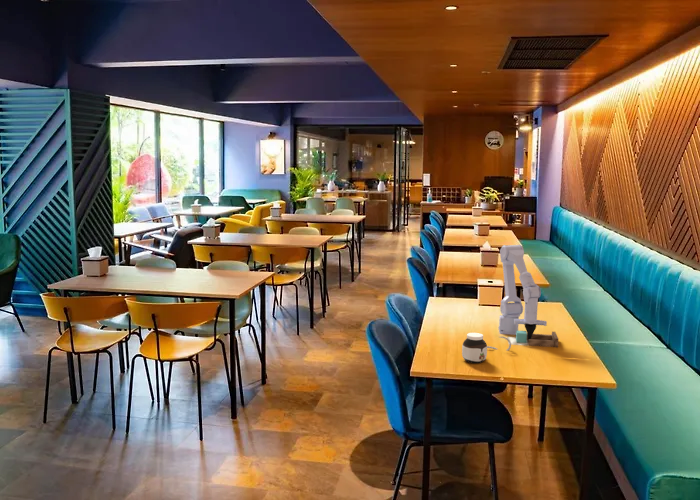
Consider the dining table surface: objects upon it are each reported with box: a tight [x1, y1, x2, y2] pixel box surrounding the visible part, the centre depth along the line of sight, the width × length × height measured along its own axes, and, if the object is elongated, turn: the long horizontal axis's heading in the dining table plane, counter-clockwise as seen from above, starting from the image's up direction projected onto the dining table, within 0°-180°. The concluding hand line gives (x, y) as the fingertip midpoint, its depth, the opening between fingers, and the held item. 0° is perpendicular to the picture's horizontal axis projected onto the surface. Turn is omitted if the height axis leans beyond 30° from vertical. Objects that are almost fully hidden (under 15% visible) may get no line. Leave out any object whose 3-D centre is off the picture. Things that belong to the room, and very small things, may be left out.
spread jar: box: [461, 332, 488, 364], centre depth 269 cm, size 12×11×12 cm
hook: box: [487, 336, 512, 352], centre depth 283 cm, size 7×9×20 cm
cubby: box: [506, 331, 559, 348], centre depth 293 cm, size 22×12×5 cm, turn 79°
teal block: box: [515, 330, 527, 343], centre depth 294 cm, size 4×4×4 cm
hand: (529, 339), depth 294 cm, fingers closed
